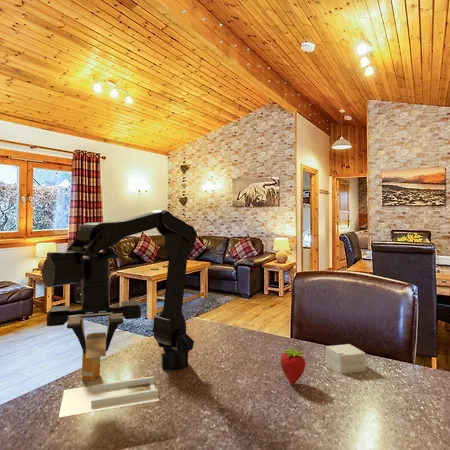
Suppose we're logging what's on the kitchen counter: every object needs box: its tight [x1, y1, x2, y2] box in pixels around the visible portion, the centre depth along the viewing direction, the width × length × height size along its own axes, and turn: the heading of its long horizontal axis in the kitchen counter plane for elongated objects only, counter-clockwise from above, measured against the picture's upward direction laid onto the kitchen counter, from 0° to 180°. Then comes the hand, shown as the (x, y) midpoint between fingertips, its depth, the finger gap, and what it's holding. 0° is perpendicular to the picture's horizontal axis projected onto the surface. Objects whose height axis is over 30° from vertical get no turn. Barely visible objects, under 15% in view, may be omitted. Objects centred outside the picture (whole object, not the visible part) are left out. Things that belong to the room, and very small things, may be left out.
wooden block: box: [85, 331, 107, 358], centre depth 77 cm, size 4×4×4 cm
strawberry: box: [280, 344, 306, 386], centre depth 88 cm, size 6×8×10 cm
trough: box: [58, 375, 160, 418], centre depth 79 cm, size 20×12×3 cm, turn 110°
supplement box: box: [81, 351, 101, 381], centre depth 88 cm, size 3×3×10 cm
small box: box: [325, 343, 367, 375], centre depth 99 cm, size 8×8×5 cm
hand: (96, 351), depth 77 cm, fingers closed on wooden block, 4 cm apart
